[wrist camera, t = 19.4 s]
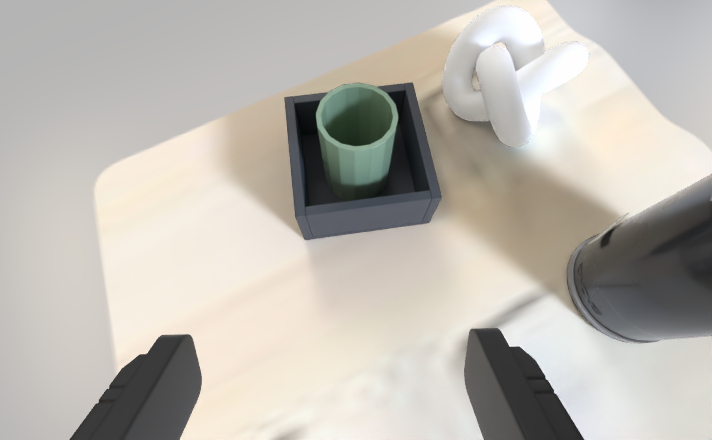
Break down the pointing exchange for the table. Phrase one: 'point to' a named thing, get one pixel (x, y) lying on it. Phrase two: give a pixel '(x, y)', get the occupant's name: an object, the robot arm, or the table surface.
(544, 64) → the white knot sculpture
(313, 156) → the tub
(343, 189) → the cup
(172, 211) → the table surface
